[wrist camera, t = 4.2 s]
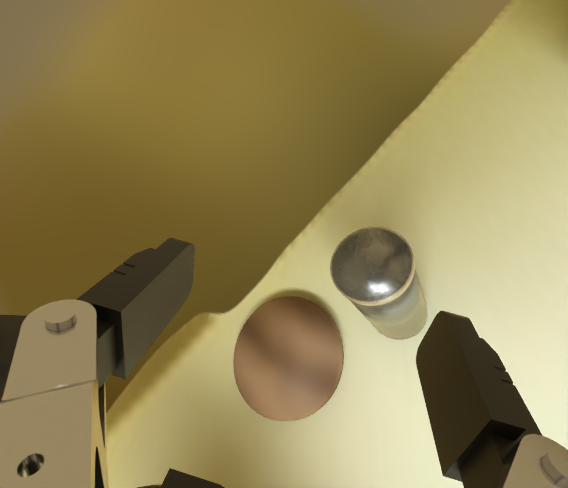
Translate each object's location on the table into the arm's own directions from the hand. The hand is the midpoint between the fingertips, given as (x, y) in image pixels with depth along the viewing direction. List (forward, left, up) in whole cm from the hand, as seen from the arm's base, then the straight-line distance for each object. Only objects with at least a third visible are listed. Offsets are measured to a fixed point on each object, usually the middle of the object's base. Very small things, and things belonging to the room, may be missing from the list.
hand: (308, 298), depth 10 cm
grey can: (-5, -2, -22) cm, 23 cm away
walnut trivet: (+3, -11, -22) cm, 25 cm away
